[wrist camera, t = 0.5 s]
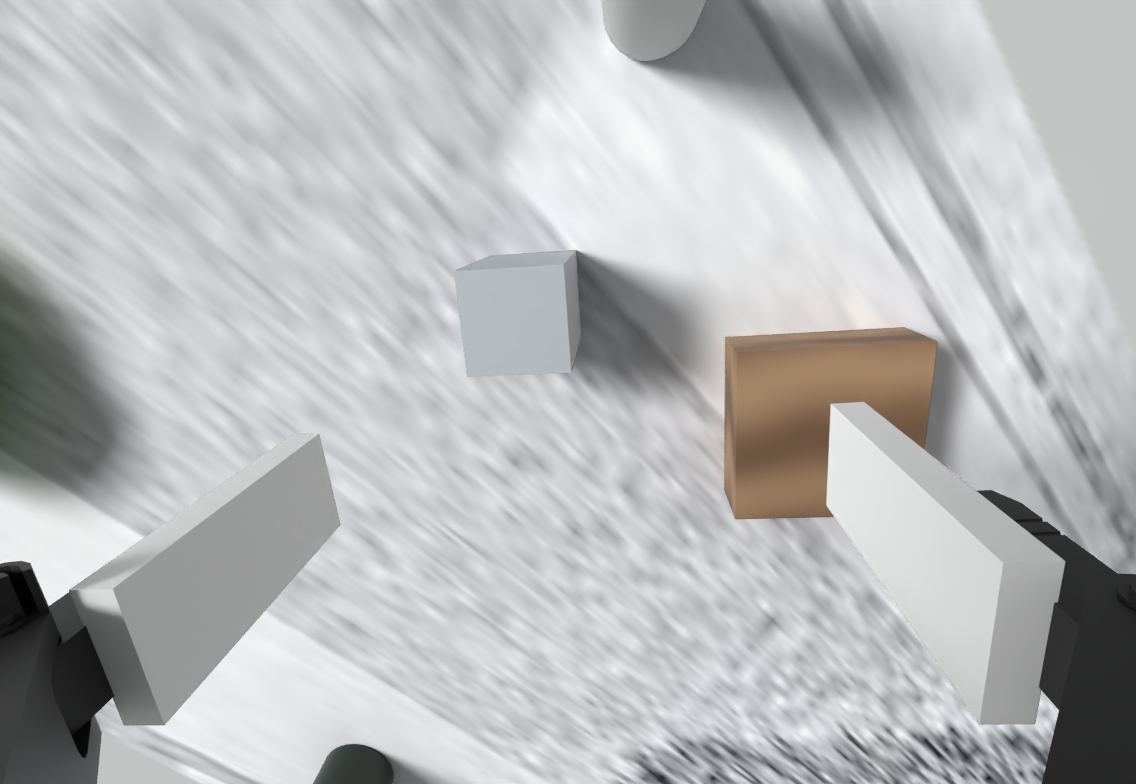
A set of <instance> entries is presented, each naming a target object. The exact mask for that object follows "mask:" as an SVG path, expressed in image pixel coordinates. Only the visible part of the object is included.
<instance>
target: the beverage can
mask: <svg viewBox="0 0 1136 784" xmlns="http://www.w3.org/2000/svg"><path fill="white" fill-rule="evenodd" d="M706 1H707V0H602V9H603V18H604V24H605V30H606V32H607V34H608V36H609V38H610V40H611V42H612V43H613V44H614V46H615V47H616V48H617V49H618V50H619V51H620V52H621V53H623V54H624V55H626V56H627V57H629V58H632V59H635V60H639V61H653V60H656V59H660V58H663V57H666V56H667V55H669V54H671V53H673V52H675V51H676V50H678V49H679V48H680V47H681V46H682V45H683V44H684V43H685V42H686V41H687V40H688V39H689V37H690V35H691V34H692V32H693V30H694V29H695V26H696V24H697V22H698V19H699V17H700V15H701V12H702V10H703V8H704V5H705V3H706Z"/></svg>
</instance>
